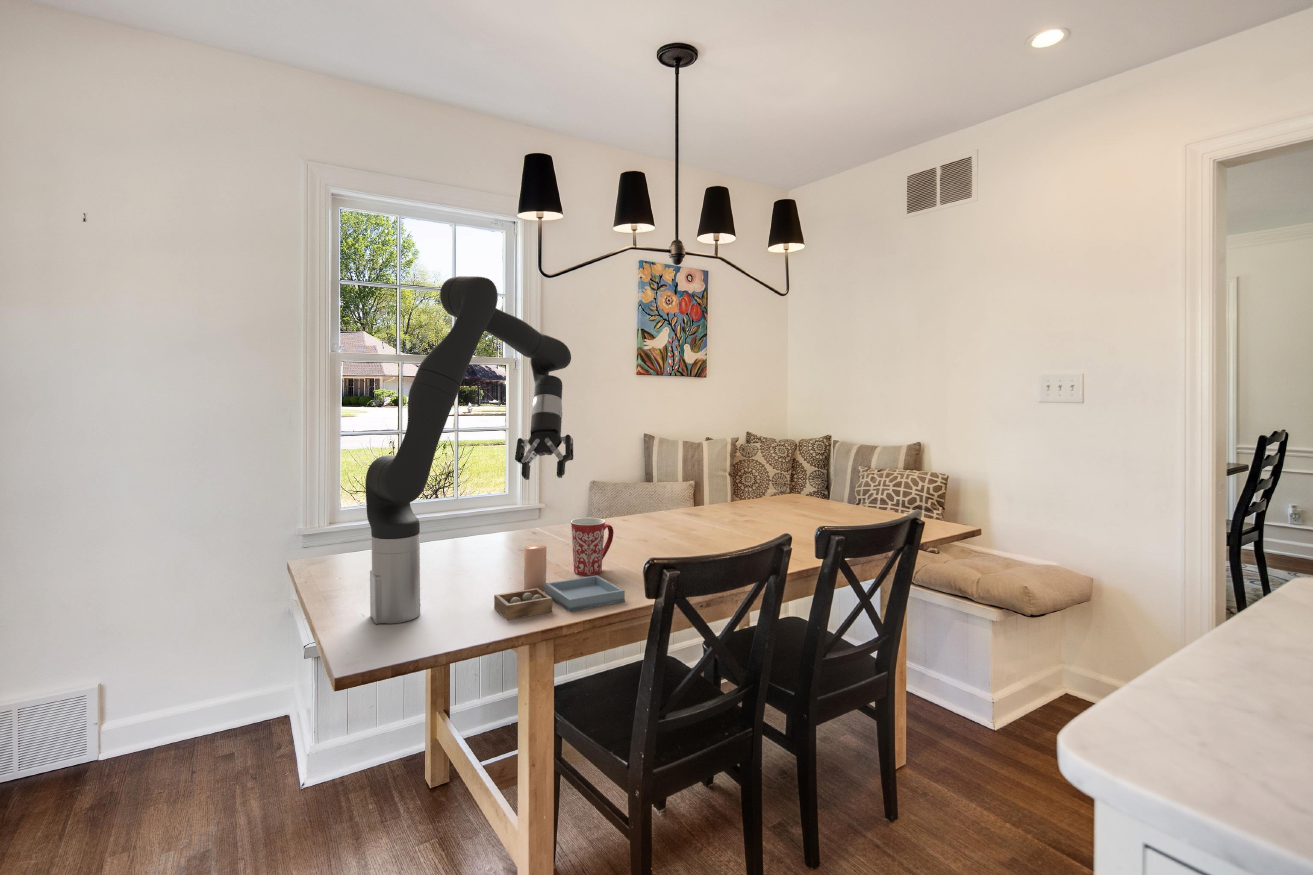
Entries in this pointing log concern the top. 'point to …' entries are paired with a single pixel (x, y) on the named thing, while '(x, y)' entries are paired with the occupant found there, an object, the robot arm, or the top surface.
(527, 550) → the wooden block
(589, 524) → the mug
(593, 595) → the dish
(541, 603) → the parts tray
